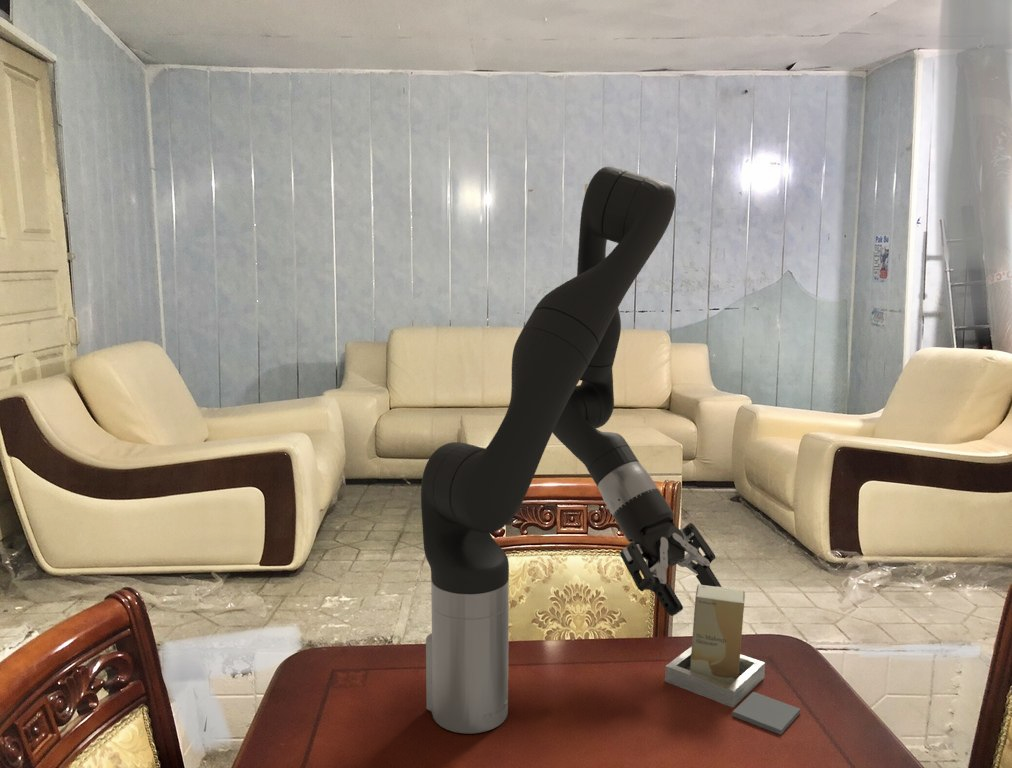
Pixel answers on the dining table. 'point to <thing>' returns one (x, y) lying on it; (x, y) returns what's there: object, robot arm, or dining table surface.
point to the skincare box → (717, 632)
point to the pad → (766, 712)
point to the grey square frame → (711, 688)
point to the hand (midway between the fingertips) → (697, 604)
